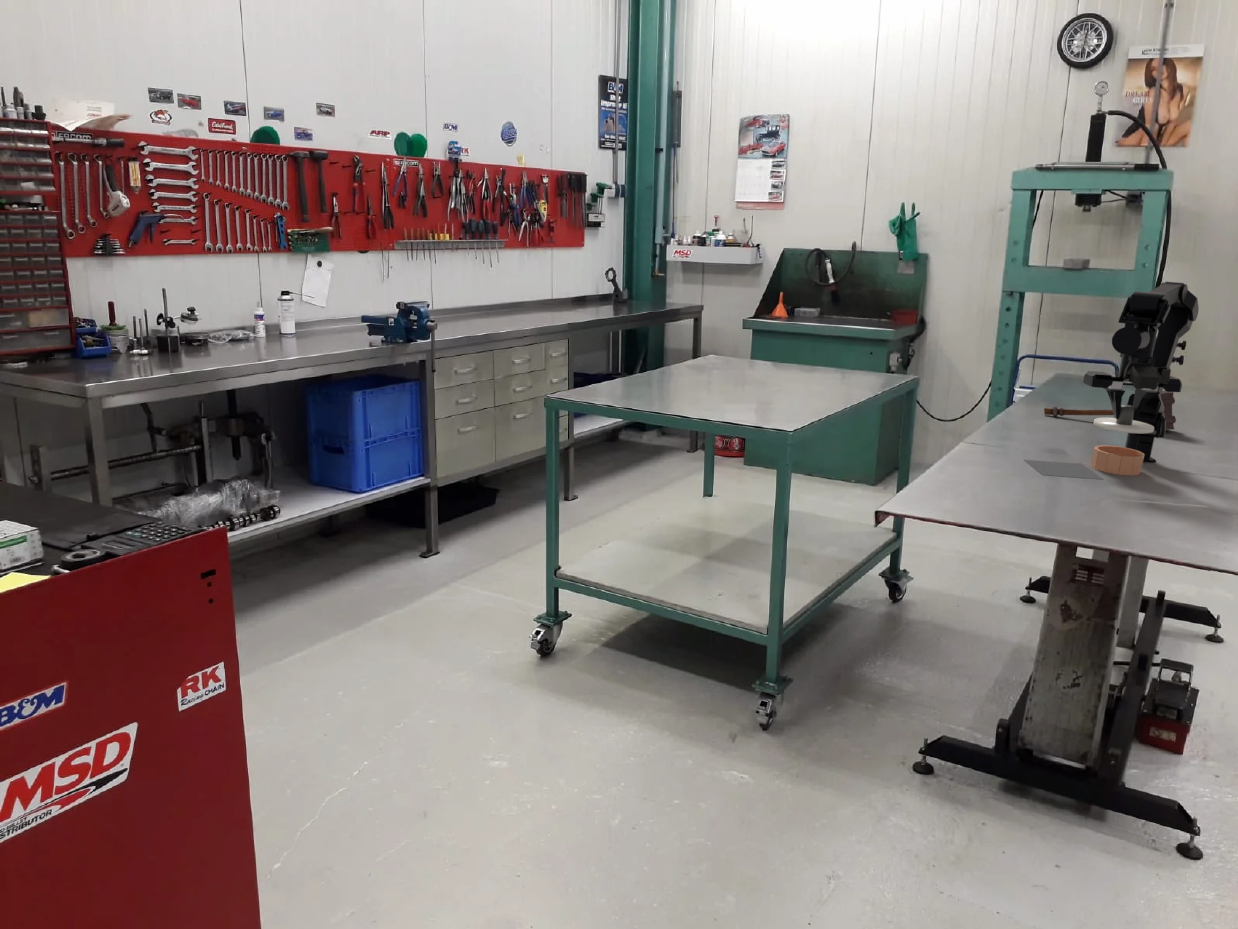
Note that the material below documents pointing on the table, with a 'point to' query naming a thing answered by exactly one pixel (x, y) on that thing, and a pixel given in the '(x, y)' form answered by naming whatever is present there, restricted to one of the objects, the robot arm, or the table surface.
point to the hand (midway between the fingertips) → (1124, 419)
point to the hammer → (1165, 397)
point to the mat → (1063, 469)
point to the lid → (1124, 422)
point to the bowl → (1117, 460)
